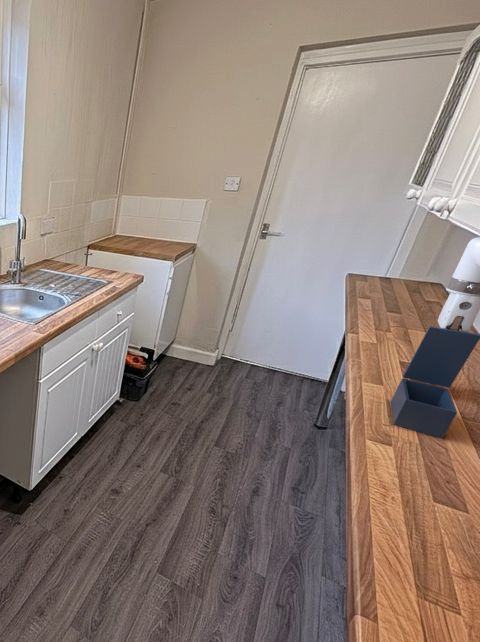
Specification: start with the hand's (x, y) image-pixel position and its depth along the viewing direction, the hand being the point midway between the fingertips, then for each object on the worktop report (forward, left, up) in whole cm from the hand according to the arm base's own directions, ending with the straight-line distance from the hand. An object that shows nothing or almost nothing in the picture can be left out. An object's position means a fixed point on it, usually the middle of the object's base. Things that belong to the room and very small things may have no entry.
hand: (437, 352), depth 112 cm
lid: (+1, +5, 0) cm, 5 cm away
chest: (+1, +11, -16) cm, 20 cm away
